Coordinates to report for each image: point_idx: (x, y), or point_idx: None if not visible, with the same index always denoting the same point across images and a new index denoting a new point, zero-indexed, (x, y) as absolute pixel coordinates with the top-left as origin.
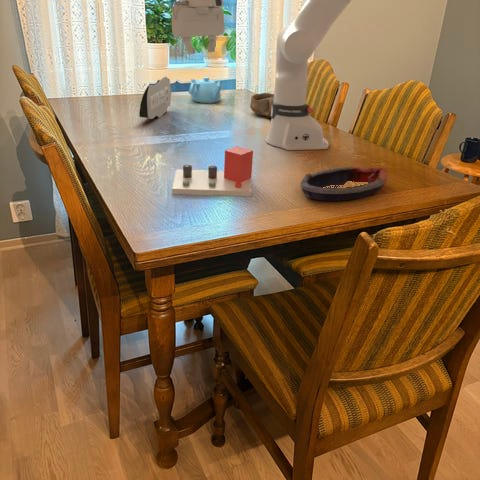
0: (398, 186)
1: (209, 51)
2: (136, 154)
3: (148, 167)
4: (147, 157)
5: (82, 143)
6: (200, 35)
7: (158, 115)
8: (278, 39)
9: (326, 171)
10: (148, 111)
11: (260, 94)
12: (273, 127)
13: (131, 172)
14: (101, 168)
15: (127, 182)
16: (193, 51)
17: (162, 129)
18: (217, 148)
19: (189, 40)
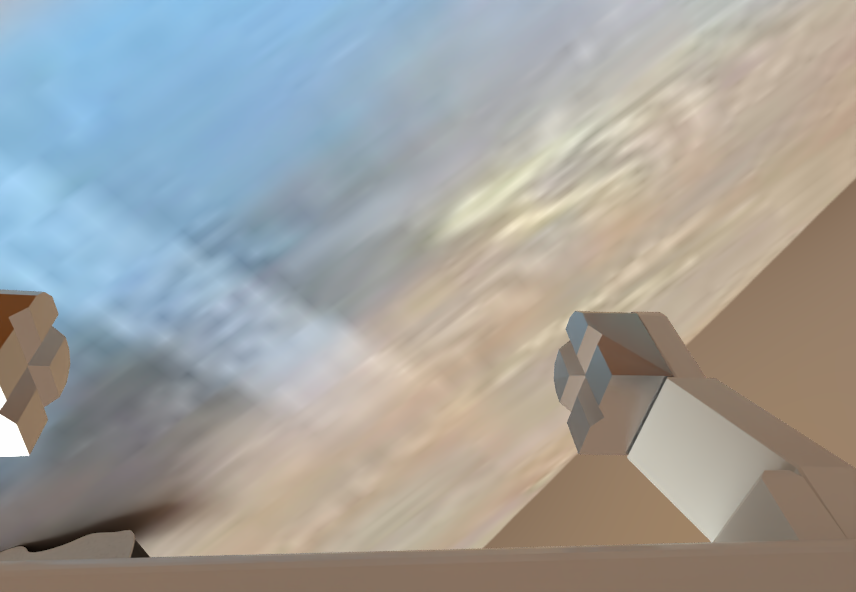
0: None
1: (58, 343)
2: (506, 289)
3: (621, 147)
4: (514, 233)
5: (510, 489)
6: (513, 551)
7: (20, 555)
8: None
9: None
10: (123, 557)
11: None
12: None
13: (703, 162)
14: (708, 274)
15: (809, 98)
16: (629, 328)
17: (143, 435)
18: (166, 51)
19: (835, 482)
